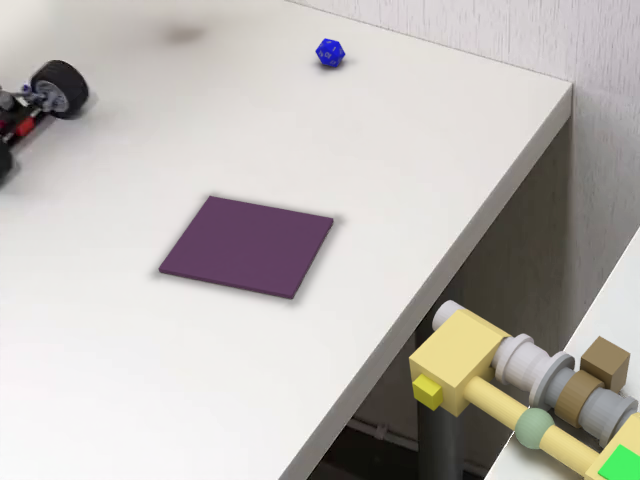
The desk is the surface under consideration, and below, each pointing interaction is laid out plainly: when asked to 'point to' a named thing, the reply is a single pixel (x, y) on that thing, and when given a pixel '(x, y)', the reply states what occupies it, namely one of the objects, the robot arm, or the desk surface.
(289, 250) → the mat
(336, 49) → the die
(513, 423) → the toy
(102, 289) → the desk surface
